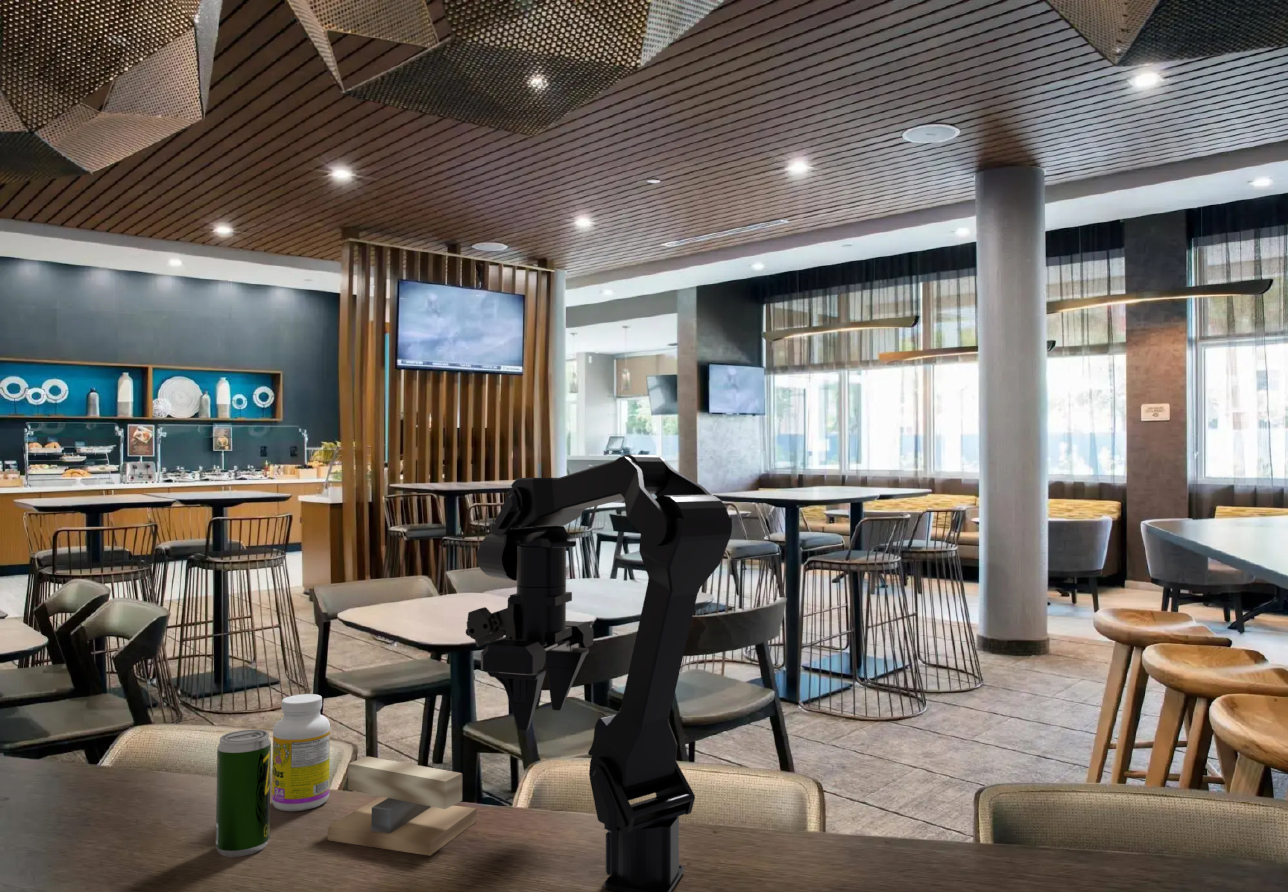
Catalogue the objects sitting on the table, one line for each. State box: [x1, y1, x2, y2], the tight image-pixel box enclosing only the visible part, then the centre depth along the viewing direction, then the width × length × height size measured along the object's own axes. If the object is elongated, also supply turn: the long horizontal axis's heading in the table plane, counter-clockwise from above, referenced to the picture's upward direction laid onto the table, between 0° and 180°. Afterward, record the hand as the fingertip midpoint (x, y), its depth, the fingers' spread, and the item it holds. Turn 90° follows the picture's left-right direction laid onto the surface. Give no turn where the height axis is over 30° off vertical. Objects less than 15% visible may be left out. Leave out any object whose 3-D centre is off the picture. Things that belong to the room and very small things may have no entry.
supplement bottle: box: [271, 693, 331, 812], centre depth 111 cm, size 7×7×13 cm
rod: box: [347, 756, 463, 809], centre depth 102 cm, size 14×3×3 cm, turn 64°
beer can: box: [215, 729, 272, 858], centre depth 98 cm, size 5×5×12 cm
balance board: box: [327, 796, 478, 856], centre depth 102 cm, size 13×10×4 cm
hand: (540, 719), depth 104 cm, fingers open, 9 cm apart
